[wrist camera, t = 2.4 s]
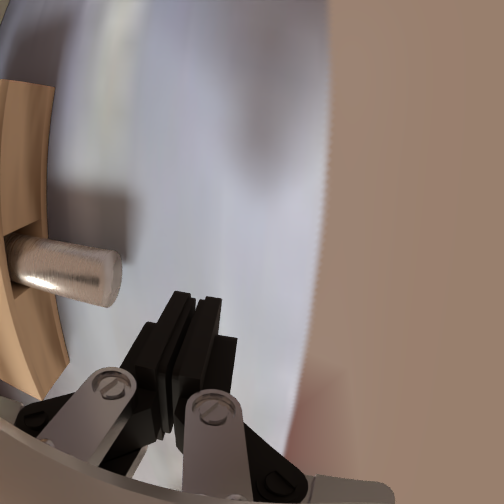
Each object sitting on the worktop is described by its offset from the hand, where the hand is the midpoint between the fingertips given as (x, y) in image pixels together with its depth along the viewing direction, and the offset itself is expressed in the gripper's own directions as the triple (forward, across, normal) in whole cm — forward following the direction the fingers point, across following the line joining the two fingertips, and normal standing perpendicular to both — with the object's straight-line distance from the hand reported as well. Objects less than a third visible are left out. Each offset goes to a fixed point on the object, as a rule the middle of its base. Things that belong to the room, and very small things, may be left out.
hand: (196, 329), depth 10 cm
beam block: (+6, +14, +1) cm, 16 cm away
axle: (+5, +12, +1) cm, 13 cm away
